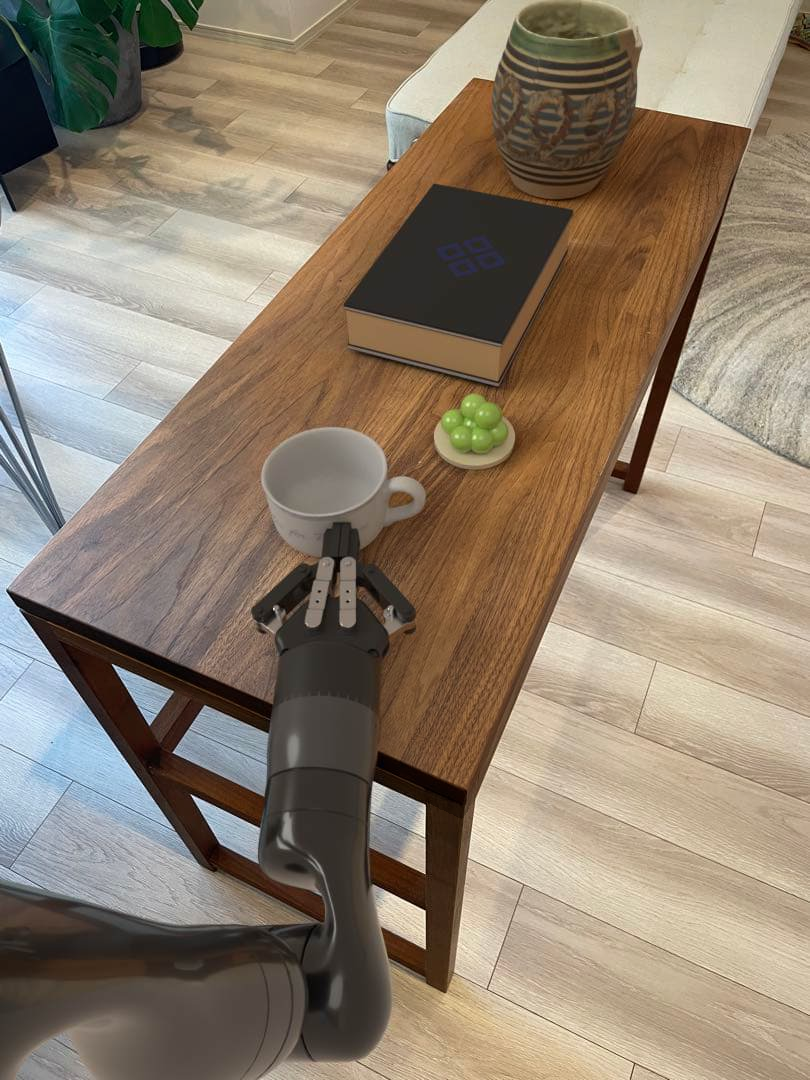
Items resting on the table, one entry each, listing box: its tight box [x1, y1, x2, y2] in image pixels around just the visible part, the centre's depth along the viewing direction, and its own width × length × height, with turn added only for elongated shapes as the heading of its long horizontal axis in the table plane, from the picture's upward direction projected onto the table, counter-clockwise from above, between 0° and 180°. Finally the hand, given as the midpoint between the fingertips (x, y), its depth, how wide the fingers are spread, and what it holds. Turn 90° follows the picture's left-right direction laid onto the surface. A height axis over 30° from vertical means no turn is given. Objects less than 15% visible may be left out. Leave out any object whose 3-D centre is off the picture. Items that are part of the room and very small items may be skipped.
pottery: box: [491, 0, 644, 200], centre depth 104 cm, size 18×18×20 cm
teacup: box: [260, 426, 427, 559], centre depth 73 cm, size 14×11×8 cm
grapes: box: [433, 392, 516, 471], centre depth 80 cm, size 8×8×5 cm
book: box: [342, 182, 575, 388], centre depth 93 cm, size 17×25×7 cm
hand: (342, 528), depth 68 cm, fingers closed
